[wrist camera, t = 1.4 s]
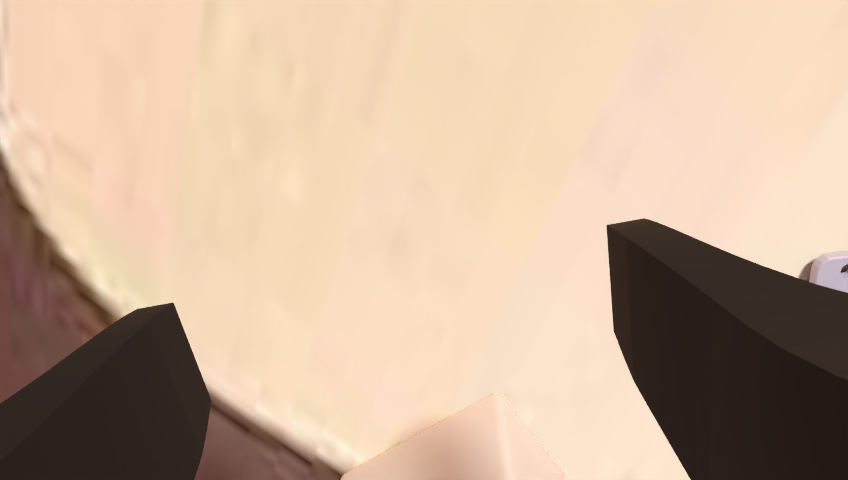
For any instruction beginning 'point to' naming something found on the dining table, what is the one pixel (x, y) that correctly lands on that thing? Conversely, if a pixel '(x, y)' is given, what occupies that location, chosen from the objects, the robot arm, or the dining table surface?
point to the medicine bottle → (467, 449)
